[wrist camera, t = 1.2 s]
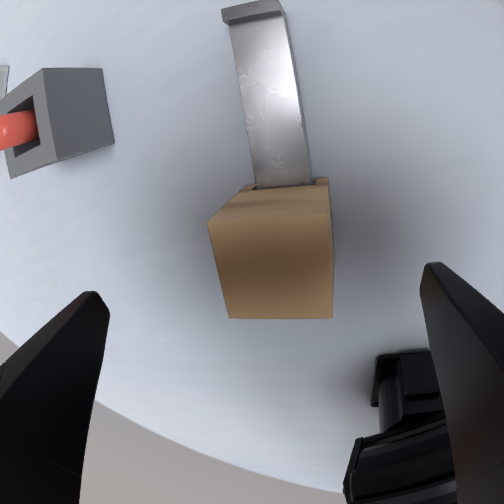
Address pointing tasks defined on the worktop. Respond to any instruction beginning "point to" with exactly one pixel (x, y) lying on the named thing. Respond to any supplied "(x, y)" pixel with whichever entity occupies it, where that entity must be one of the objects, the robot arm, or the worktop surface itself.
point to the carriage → (276, 252)
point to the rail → (270, 94)
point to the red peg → (18, 129)
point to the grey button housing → (59, 116)
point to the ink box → (3, 80)
